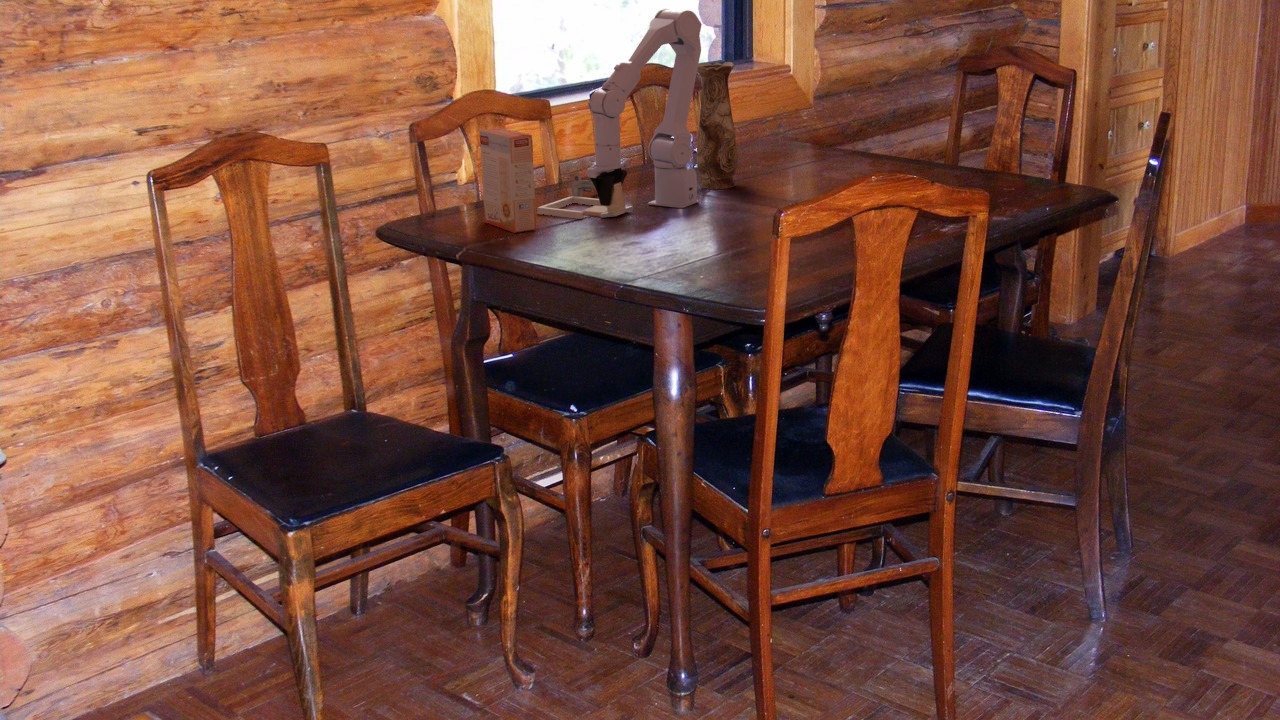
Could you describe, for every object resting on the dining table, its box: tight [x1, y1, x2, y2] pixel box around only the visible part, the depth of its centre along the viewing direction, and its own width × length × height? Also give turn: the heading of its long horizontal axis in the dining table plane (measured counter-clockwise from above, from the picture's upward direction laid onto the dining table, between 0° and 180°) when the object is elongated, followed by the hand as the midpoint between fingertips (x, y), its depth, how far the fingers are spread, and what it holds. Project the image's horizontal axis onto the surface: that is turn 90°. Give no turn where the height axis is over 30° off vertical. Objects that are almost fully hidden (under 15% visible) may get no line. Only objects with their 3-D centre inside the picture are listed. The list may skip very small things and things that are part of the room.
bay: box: [536, 195, 607, 220], centre depth 294 cm, size 12×14×2 cm
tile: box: [581, 206, 608, 217], centre depth 291 cm, size 6×6×1 cm
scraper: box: [599, 182, 635, 219], centre depth 288 cm, size 4×8×7 cm, turn 149°
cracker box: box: [479, 127, 537, 234], centre depth 277 cm, size 14×6×21 cm, turn 34°
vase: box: [696, 61, 739, 190], centre depth 313 cm, size 10×11×30 cm
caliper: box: [571, 175, 596, 197], centre depth 311 cm, size 20×1×6 cm, turn 149°
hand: (609, 203), depth 289 cm, fingers closed on scraper, 3 cm apart
